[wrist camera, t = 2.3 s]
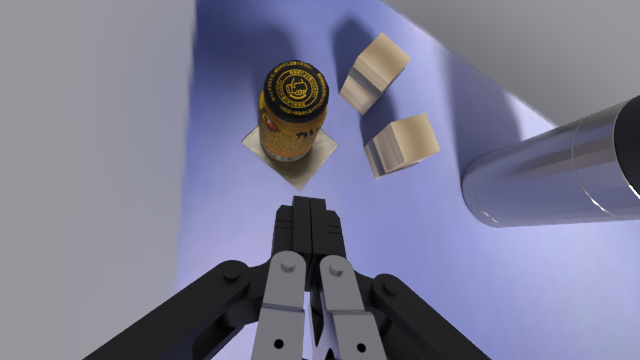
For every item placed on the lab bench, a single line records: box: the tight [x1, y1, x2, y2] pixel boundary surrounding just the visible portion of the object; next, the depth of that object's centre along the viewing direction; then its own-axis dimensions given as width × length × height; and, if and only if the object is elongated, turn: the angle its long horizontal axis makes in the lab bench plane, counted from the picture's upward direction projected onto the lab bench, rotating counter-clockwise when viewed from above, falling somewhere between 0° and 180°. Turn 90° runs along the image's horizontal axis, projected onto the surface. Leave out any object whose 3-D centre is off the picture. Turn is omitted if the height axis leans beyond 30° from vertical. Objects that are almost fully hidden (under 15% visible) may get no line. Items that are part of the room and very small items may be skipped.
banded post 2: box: [364, 113, 441, 178], centre depth 33 cm, size 4×4×8 cm
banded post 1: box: [339, 33, 411, 115], centre depth 35 cm, size 4×4×8 cm
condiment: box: [242, 60, 338, 191], centre depth 30 cm, size 7×8×12 cm
